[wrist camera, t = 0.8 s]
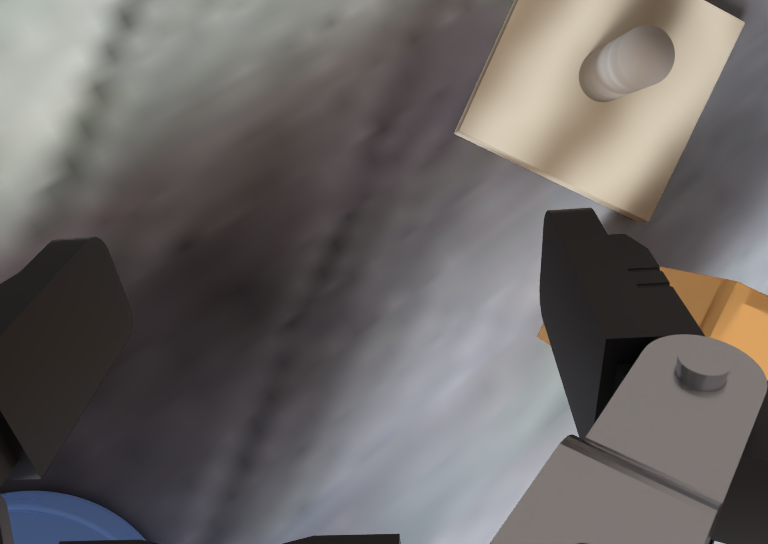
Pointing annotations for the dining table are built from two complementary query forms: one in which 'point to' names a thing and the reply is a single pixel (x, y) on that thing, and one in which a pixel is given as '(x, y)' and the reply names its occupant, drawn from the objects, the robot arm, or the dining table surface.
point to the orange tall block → (722, 312)
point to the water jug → (62, 519)
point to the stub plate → (578, 126)
